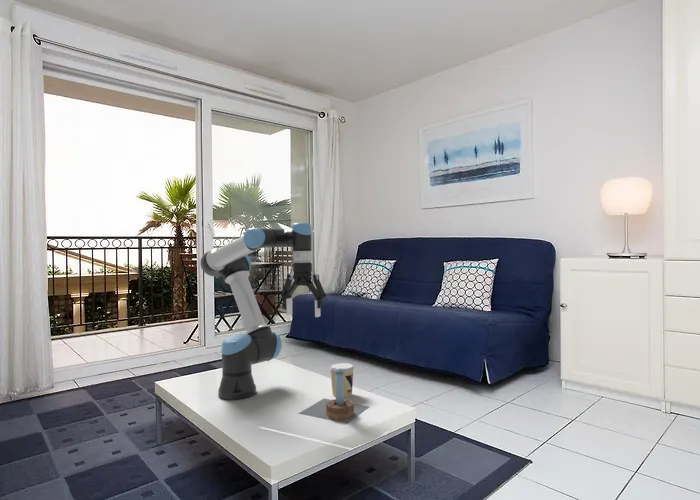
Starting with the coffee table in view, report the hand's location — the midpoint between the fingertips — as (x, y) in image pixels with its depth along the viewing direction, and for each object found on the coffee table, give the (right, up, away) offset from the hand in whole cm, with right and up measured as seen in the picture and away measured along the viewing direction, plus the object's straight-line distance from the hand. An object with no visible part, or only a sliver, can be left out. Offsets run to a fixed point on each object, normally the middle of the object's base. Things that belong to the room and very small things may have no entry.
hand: (303, 315), depth 174 cm
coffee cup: (+15, -33, +2) cm, 36 cm away
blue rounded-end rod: (+15, -32, -19) cm, 40 cm away
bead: (+15, -32, -19) cm, 40 cm away
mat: (+13, -33, -15) cm, 38 cm away
